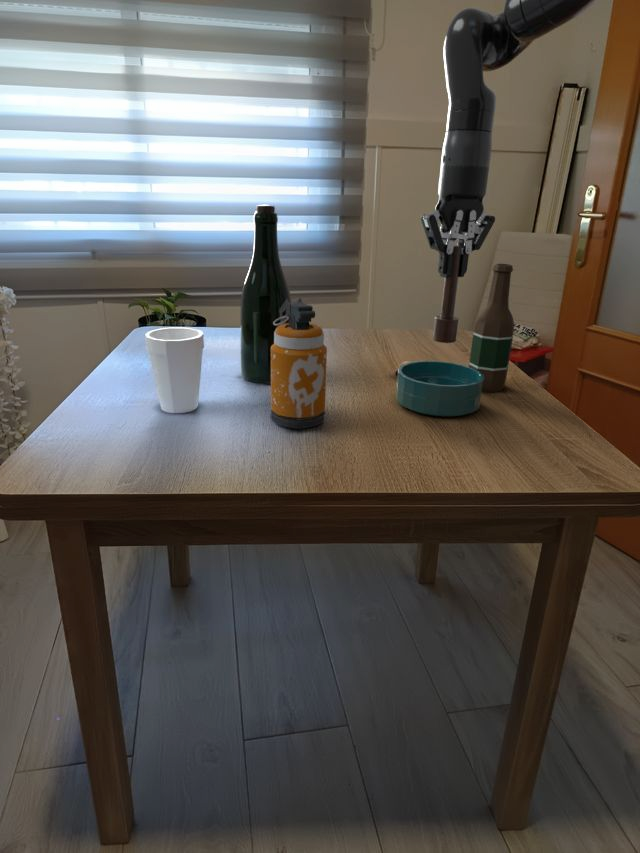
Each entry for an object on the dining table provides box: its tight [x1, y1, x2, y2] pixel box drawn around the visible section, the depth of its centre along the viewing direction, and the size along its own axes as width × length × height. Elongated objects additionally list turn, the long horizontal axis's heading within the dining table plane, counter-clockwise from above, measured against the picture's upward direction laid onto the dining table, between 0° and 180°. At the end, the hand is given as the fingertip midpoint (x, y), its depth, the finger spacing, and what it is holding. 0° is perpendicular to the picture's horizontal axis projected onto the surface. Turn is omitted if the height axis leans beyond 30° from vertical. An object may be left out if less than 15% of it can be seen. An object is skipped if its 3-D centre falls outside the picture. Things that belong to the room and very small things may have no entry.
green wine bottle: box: [240, 204, 292, 384], centre depth 111 cm, size 10×10×33 cm
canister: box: [270, 297, 328, 429], centre depth 93 cm, size 9×11×20 cm
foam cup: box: [144, 327, 205, 414], centre depth 98 cm, size 10×9×13 cm
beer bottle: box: [468, 263, 515, 393], centre depth 112 cm, size 8×8×24 cm
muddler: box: [432, 244, 462, 344], centre depth 98 cm, size 4×4×16 cm
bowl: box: [395, 360, 484, 418], centre depth 105 cm, size 15×15×6 cm
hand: (451, 276), depth 97 cm, fingers closed on muddler, 2 cm apart
